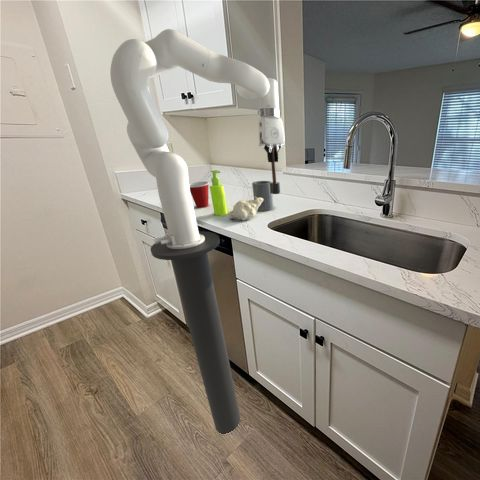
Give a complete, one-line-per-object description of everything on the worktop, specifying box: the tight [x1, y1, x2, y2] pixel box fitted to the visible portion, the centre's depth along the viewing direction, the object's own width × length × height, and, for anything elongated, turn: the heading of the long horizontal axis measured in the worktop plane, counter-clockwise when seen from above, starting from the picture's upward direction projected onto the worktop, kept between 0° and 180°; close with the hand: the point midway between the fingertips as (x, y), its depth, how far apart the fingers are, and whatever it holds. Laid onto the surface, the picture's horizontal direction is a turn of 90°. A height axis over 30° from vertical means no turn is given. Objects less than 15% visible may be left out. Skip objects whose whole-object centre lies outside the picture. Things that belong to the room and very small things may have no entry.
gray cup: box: [251, 180, 274, 212], centre depth 127 cm, size 9×9×13 cm
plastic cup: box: [189, 181, 210, 209], centre depth 133 cm, size 11×11×12 cm
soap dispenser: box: [209, 169, 229, 217], centre depth 118 cm, size 6×7×20 cm
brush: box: [270, 147, 281, 195], centre depth 113 cm, size 4×4×19 cm
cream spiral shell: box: [226, 197, 264, 221], centre depth 114 cm, size 15×7×15 cm
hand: (273, 161), depth 111 cm, fingers closed on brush
